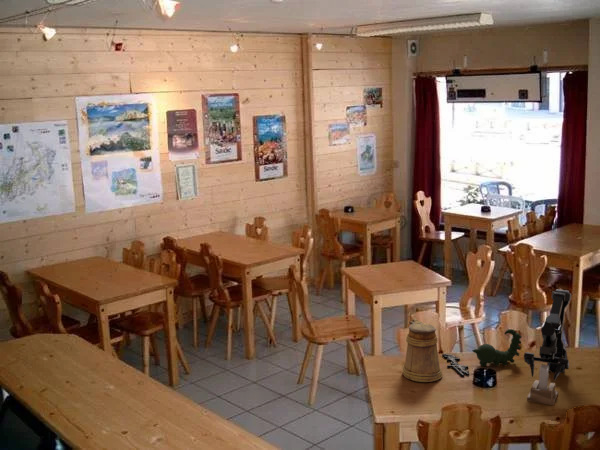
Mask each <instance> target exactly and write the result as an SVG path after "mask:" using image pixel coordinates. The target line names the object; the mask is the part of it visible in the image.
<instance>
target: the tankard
mask: <svg viewBox="0 0 600 450" xmlns="http://www.w3.org/2000/svg"><path fill="white" fill-rule="evenodd" d="M408 323H409V324H408V325H409V326H408V334H407V336H406V339H405V342H406V344H407V347H406V352H405V362H404V364H403V366H402V375H403V376H404V377H405V378H406V379H408V380H410V381H413V382H418V383H430V382H435V381H439V380H440V379H441V378H443V371H442V368H441V366H440V359H439V354H438V353H439V352H438V345H437V343H438V335H437V334H436V330H437V329H436V327H435V326H434V325H432V324H430V323H429V324H428V323H424V322H422V321H421V320H418V319H417V318H416V317H413V318H412V320H410V321H409V322H408Z"/></svg>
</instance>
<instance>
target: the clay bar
mask: <svg viewBox="0 0 600 450" xmlns="http://www.w3.org/2000/svg"><path fill="white" fill-rule="evenodd" d="M549 372H550V371H549V365H547V364H543V363H542V364H540V366H539V373H538V375H539V376H538V377H539V379H538V380H539V389H540V390H546V391H547V389H548V387H549Z"/></svg>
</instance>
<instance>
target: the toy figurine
mask: <svg viewBox="0 0 600 450" xmlns="http://www.w3.org/2000/svg"><path fill="white" fill-rule="evenodd" d="M507 334H510V335H511V336H512V338H511V343H510V344H509V347H508V348H507V350H505V351H503V350H499V349H496V348H495V347H494V346H493V345H492V344H489V343H484V344H481V345H480V346H478V347H477V348H476V349H475V348H474V349H472V352H473V353H474V354H476V357H477V360H479V365H480V366H481V367H483V368H485V367H487V366H488V364H494V366H495V367H499V366H500V364H501V365H503V367H507V365H508V362H510V363H511V364H513V363H515V359H514V357H517V356H518V357H519V356H520V352H518V350H521V349H522V348H521V346H520V345H519V344H522V340H520V339H522V335H521V334H520V333H518V332H516V330H515V329H513V328H510V329H507V330H506V331H505V332H504V335H507Z"/></svg>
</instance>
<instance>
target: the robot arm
mask: <svg viewBox="0 0 600 450" xmlns="http://www.w3.org/2000/svg"><path fill="white" fill-rule="evenodd" d="M572 295H573V294H572V293H570V291H569V290H566V289H555V290H554V291H551V300H552V305H551V309H550V313H549V315H547V316H546V317H545V321H543V323H542V325H541V329H540V331H541V332H540V333H541V336H542V343H541V346H539V351H538V352H539V354H538V355H539V356H535V354H534V352H527V351H526V352H524V354H523V360H524V362H525V363H526V364H527V365H529V367H530V374H531V377H532V378H533V377H534V374H535V373H534V372H535V362H539V363H546V365H549V372H551V374H552V373H553V374H554V375H553V381H556V379H557V378H558V377H559V375H560V374H561V373H565V372H566V370H569V368H570V361H569V359H568V352H567V350H566V348H565V347H566V345H565V343H564V340H563V333H564V324H565V323H564V322H565V317H566V316H565V314H566V309H567V307H569V305H570V303H571V300H572Z"/></svg>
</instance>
